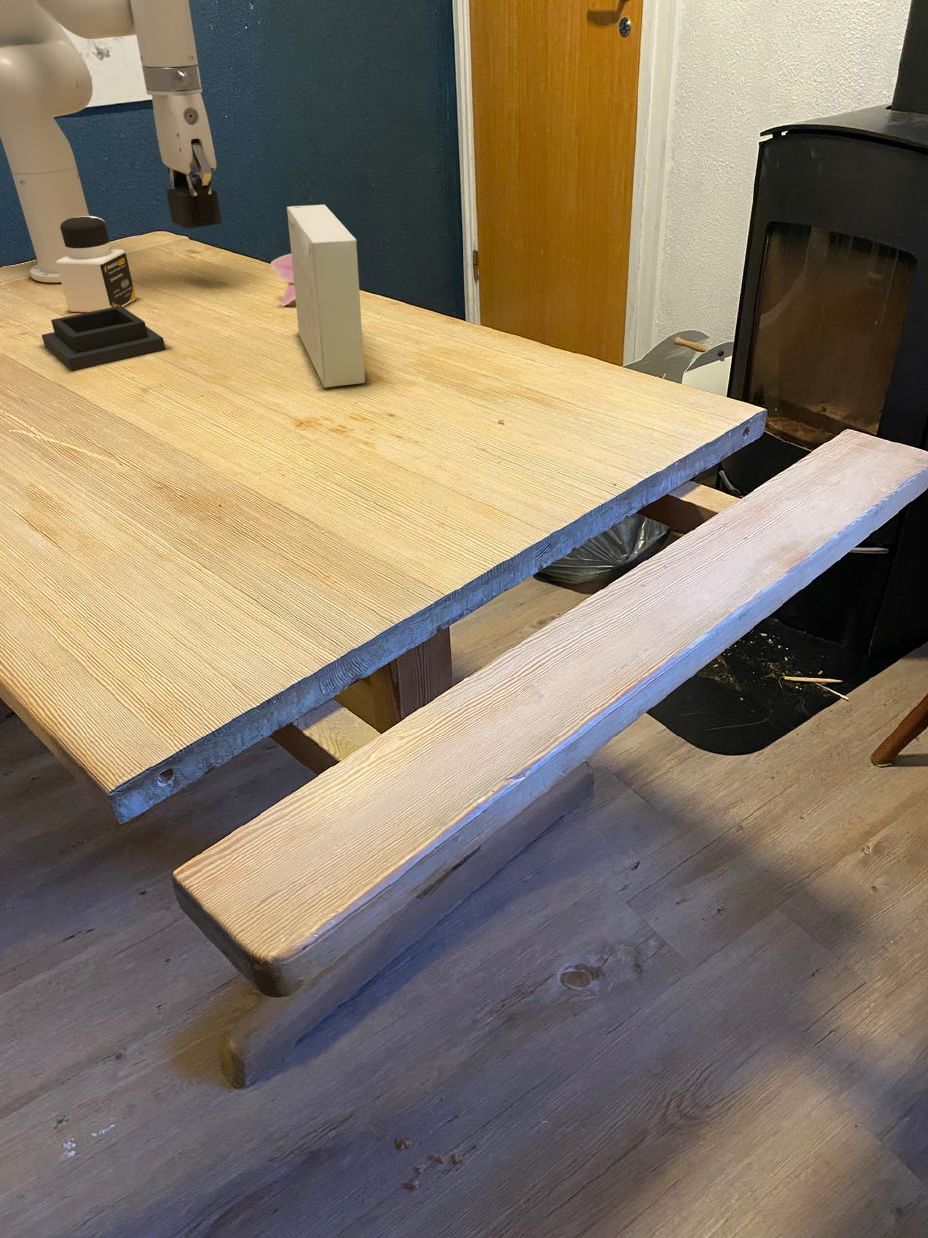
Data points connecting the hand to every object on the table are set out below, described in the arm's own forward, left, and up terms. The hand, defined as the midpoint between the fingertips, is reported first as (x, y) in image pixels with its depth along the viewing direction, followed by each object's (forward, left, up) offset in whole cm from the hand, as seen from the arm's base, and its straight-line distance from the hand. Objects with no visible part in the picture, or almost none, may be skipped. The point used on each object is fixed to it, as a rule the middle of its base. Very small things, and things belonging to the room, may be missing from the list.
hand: (196, 218), depth 136 cm
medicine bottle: (0, -17, -10) cm, 19 cm away
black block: (0, 0, -1) cm, 1 cm away
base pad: (+19, -23, -10) cm, 31 cm away
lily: (+20, +7, -10) cm, 24 cm away
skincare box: (+42, -2, -10) cm, 44 cm away
